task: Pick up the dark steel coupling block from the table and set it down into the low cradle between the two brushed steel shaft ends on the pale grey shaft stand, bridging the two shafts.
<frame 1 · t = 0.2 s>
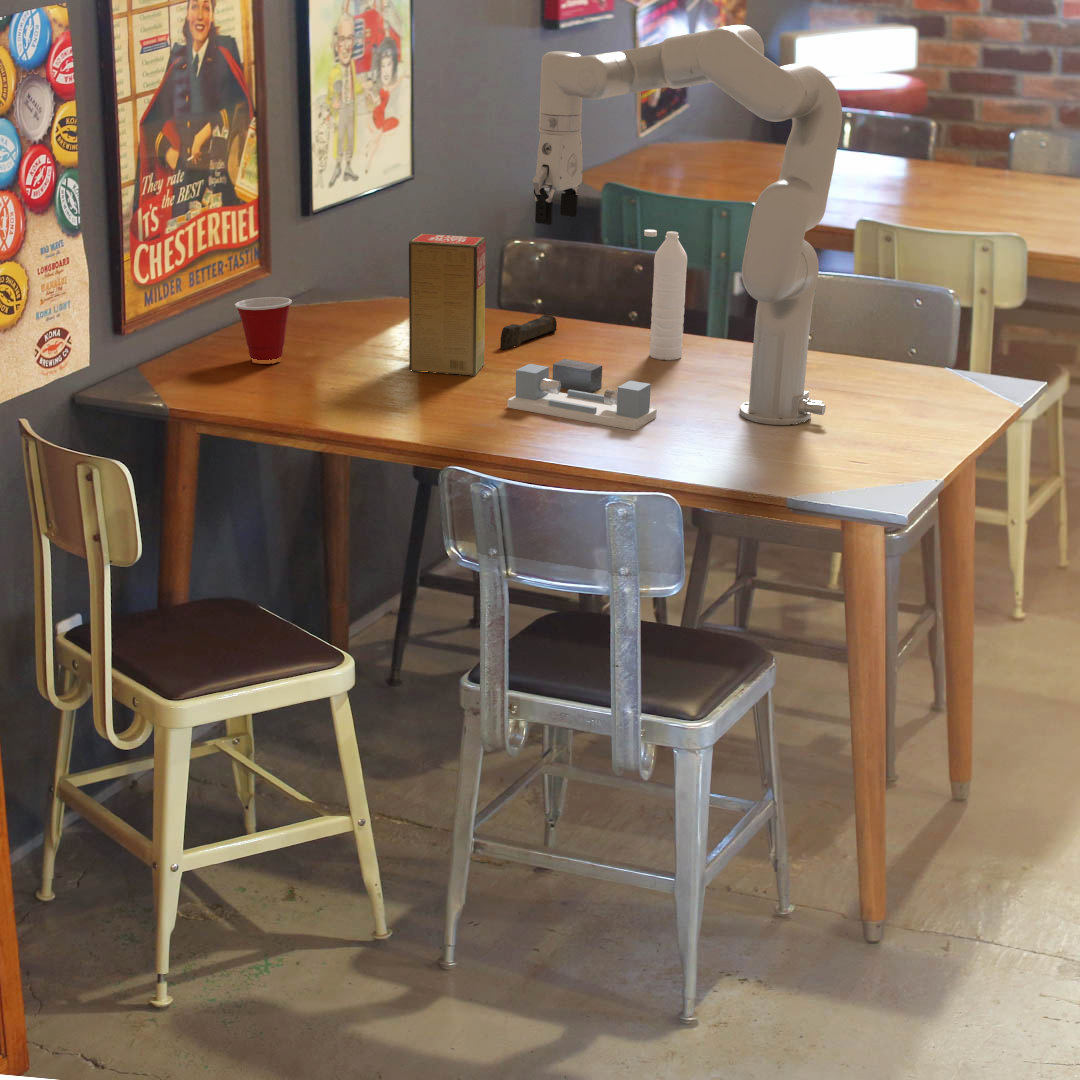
hand: (556, 219, 293), 30 cm above the table, tool pointing down, fingers open, 9 cm apart
plastic cup: (265, 362, 310), on the table
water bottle: (659, 357, 321), on the table
food packaging: (447, 369, 309), on the table
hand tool: (527, 343, 330), on the table
shaft stand: (581, 412, 284), on the table
coupling block: (576, 388, 299), on the table
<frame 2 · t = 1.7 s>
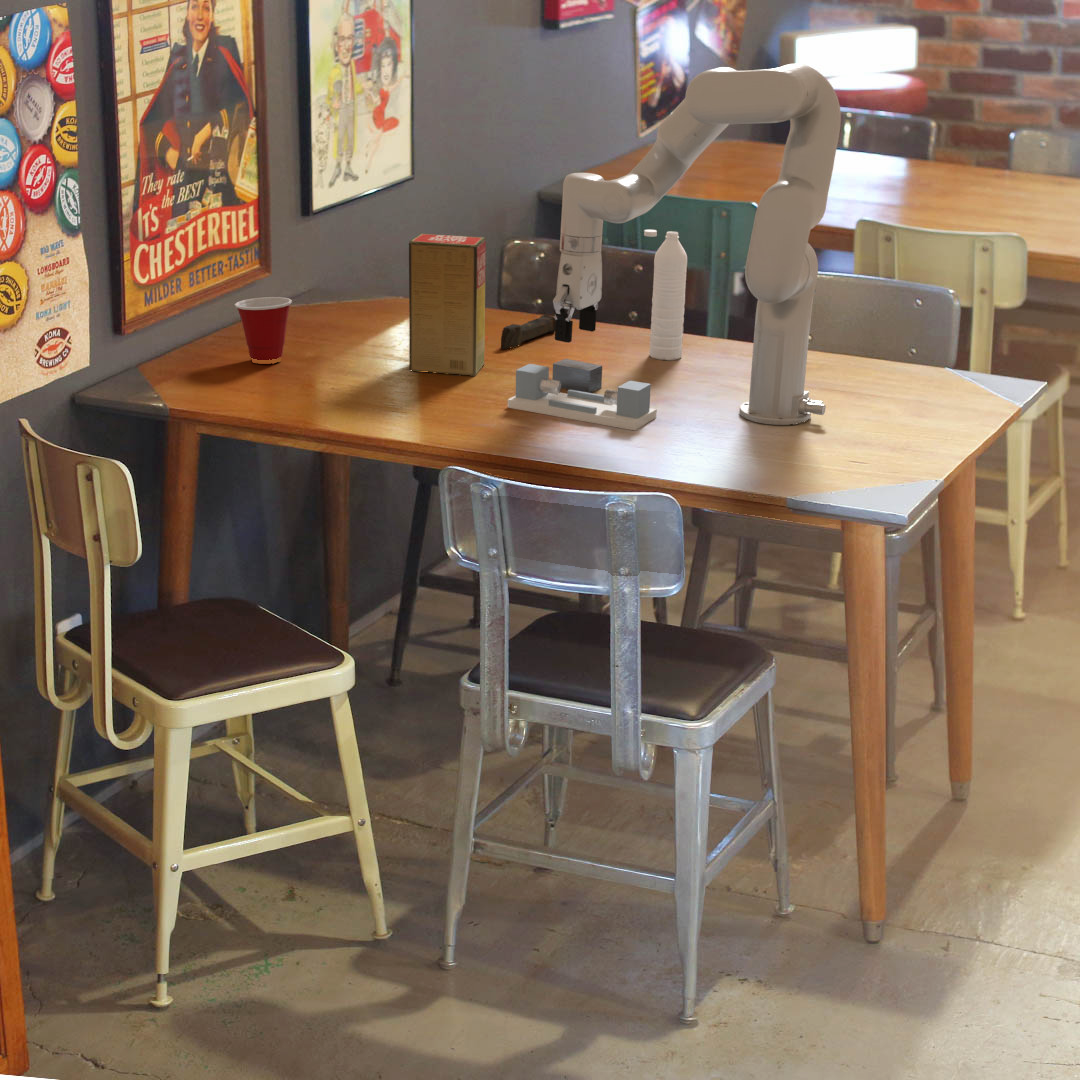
hand: (575, 335, 295), 10 cm above the table, tool pointing down, fingers open, 9 cm apart
nothing on the table moved.
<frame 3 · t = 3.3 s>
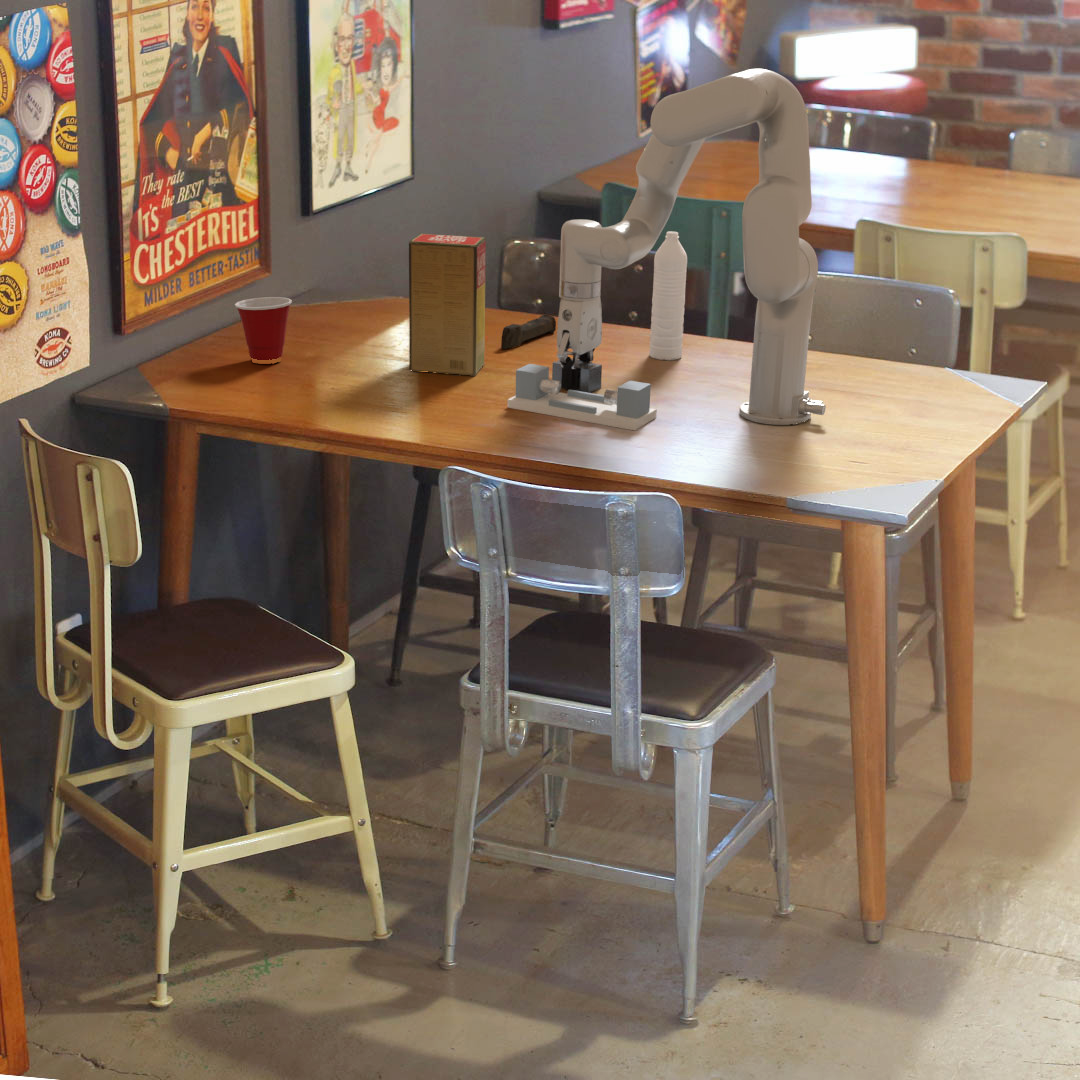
hand: (576, 384, 298), 0 cm above the table, tool pointing down, fingers closed on coupling block, 4 cm apart
coupling block: (576, 387, 299), on the table, touching gripper
everything else where it was.
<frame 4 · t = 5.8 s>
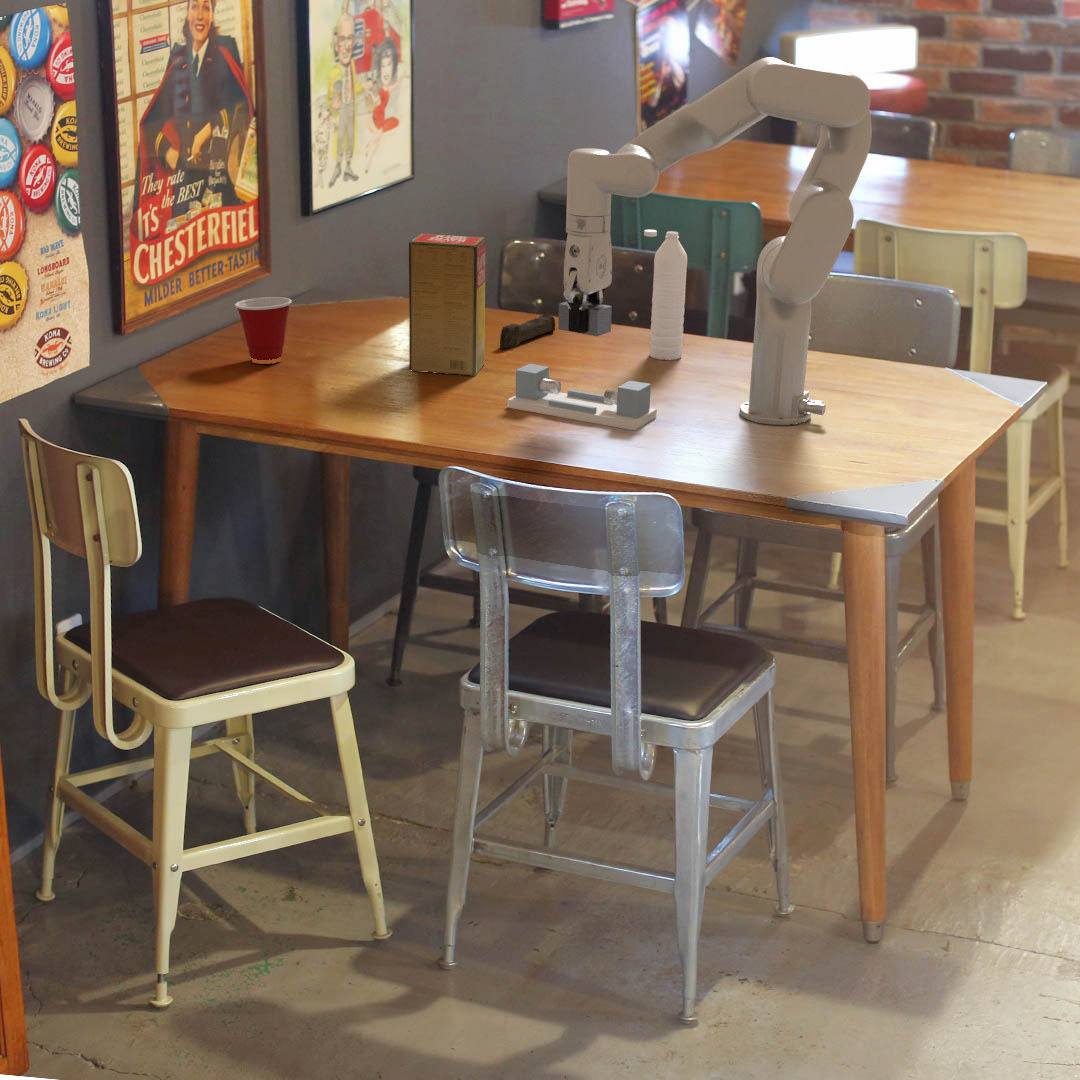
hand: (584, 327, 278), 15 cm above the table, tool pointing down, fingers closed on coupling block, 4 cm apart
coupling block: (584, 330, 278), point 15 cm above the table, touching gripper
everything else where it was.
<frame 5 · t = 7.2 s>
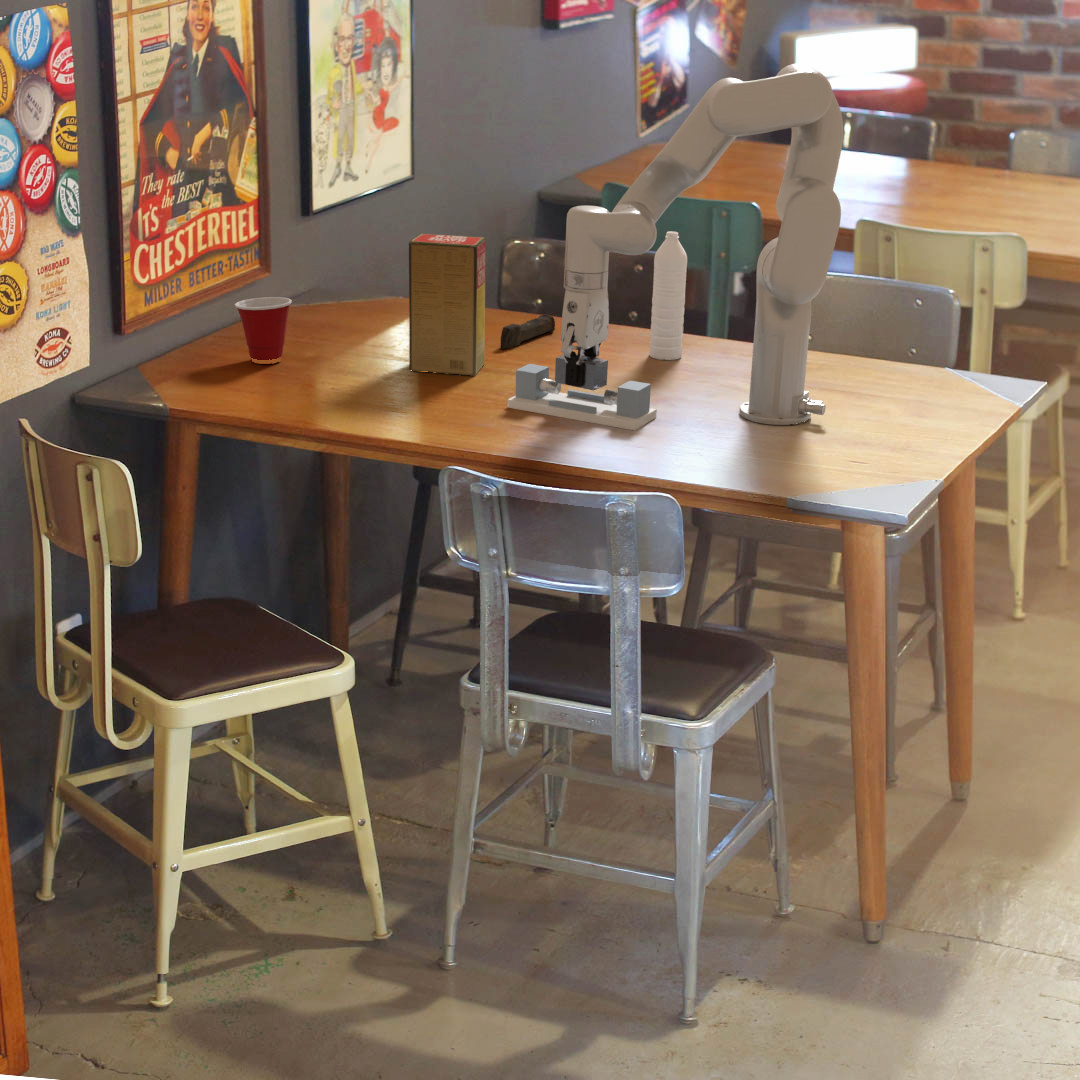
hand: (581, 381, 281), 6 cm above the table, tool pointing down, fingers closed on coupling block, 4 cm apart
coupling block: (580, 383, 282), point 5 cm above the table, touching gripper
everything else where it was.
when the fingers open (3 cm above the table, at t = 8.4 s): coupling block drops 1 cm, resting on shaft stand.
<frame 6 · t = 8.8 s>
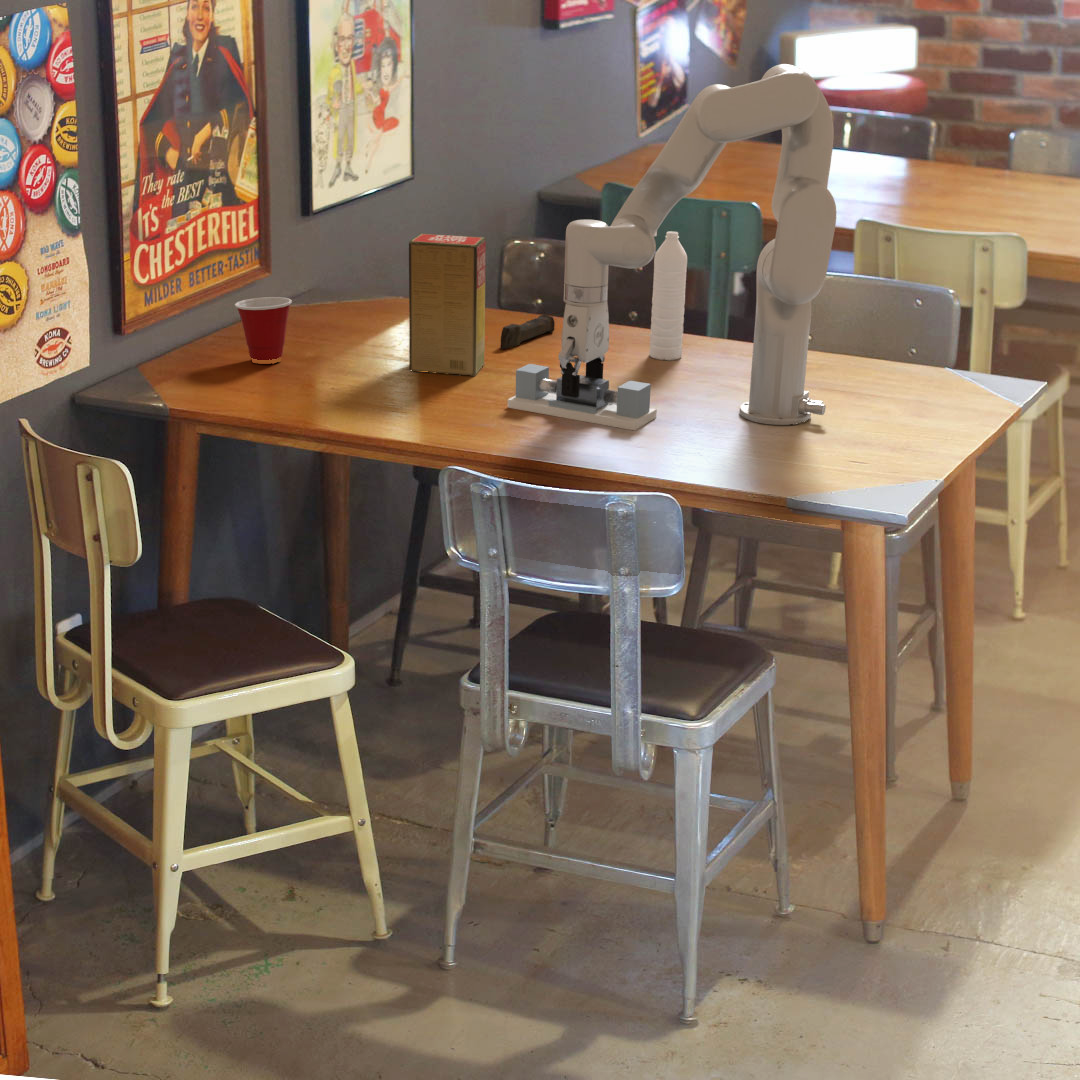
hand: (582, 389, 282), 4 cm above the table, tool pointing down, fingers open, 8 cm apart
coupling block: (582, 404, 283), point 1 cm above the table, touching shaft stand
everything else where it was.
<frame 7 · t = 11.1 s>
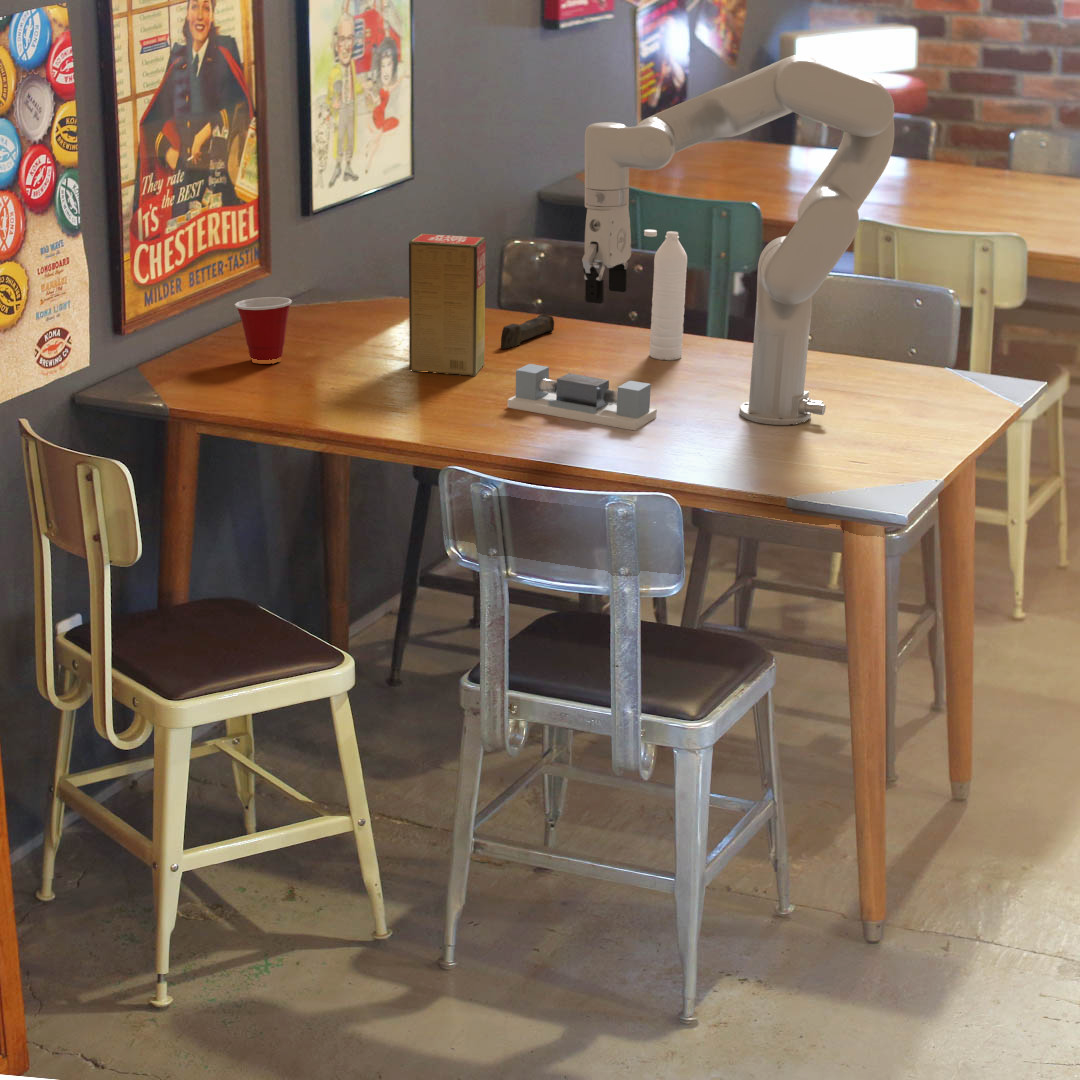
hand: (606, 296, 279), 20 cm above the table, tool pointing down, fingers open, 9 cm apart
nothing on the table moved.
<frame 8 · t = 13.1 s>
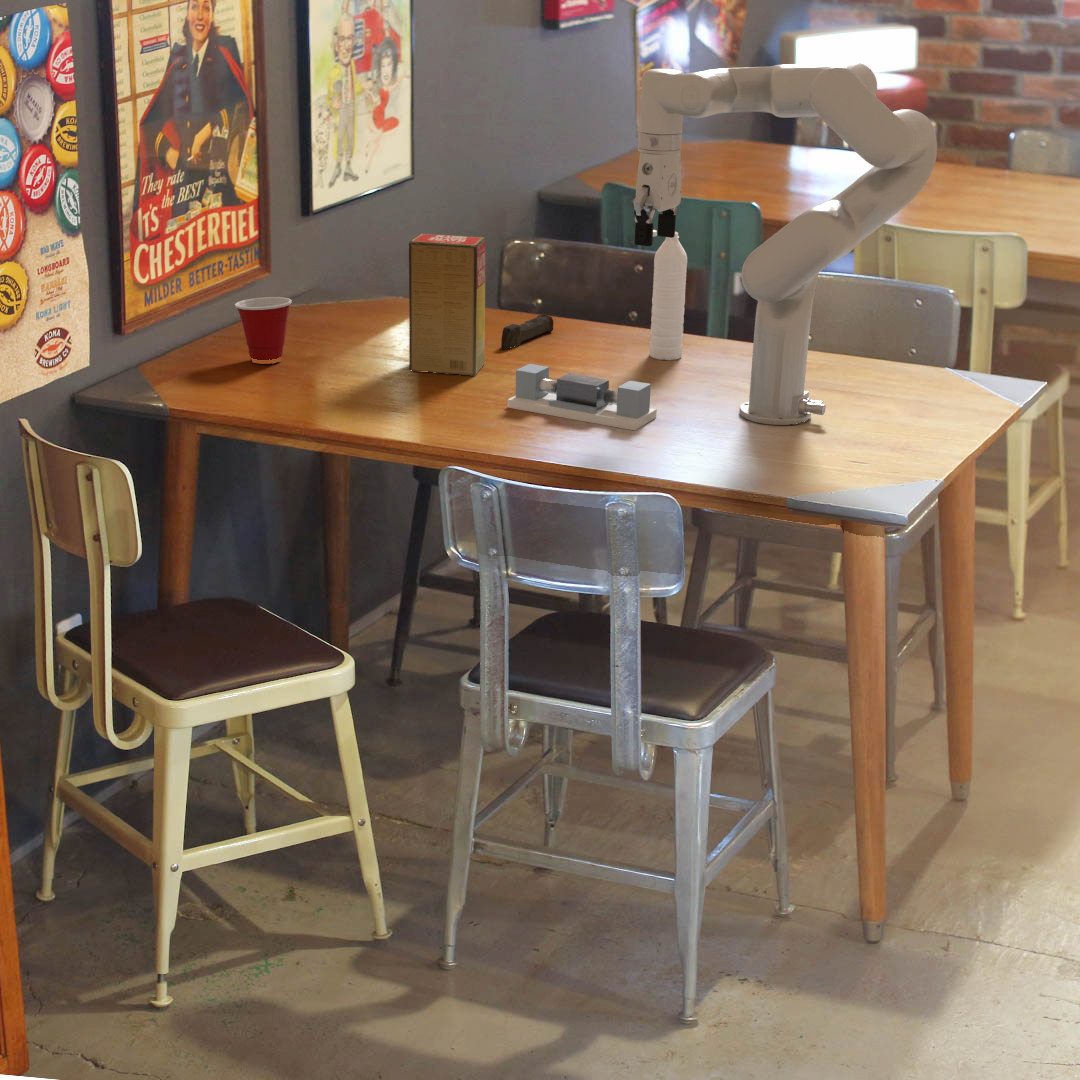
hand: (654, 240, 285), 28 cm above the table, tool pointing down, fingers open, 9 cm apart
nothing on the table moved.
at the end: coupling block 0.1 cm off-centre on the shaft stand, point 1.5 cm above the shaft stand's base; coupling block tilted 0°; the gripper is holding nothing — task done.
